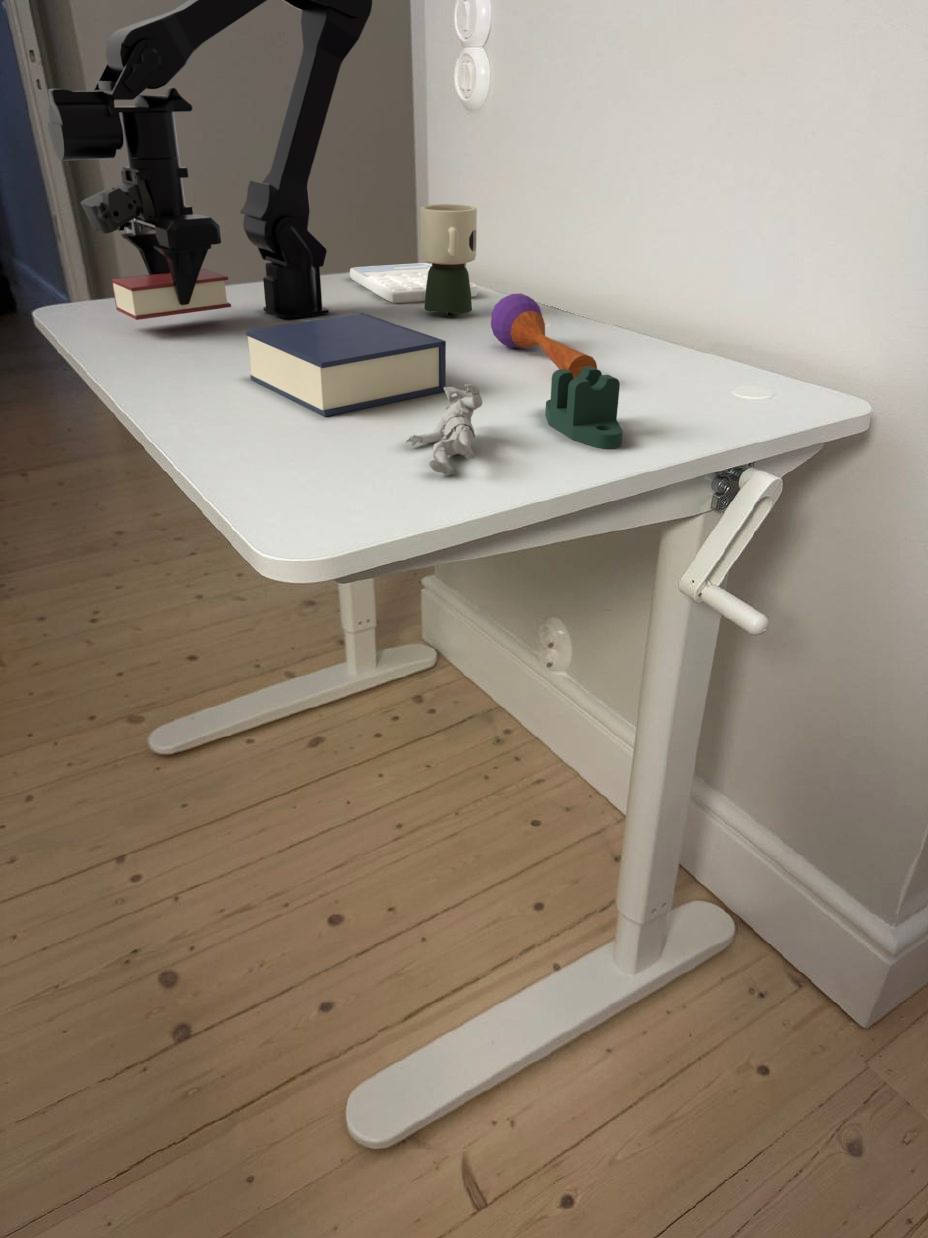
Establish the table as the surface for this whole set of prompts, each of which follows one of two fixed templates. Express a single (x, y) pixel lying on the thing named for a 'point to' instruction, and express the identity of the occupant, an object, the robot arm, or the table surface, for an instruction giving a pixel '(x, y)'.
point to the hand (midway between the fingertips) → (173, 299)
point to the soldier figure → (453, 429)
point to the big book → (347, 362)
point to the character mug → (448, 255)
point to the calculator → (397, 281)
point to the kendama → (533, 332)
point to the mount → (585, 407)
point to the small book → (167, 295)
